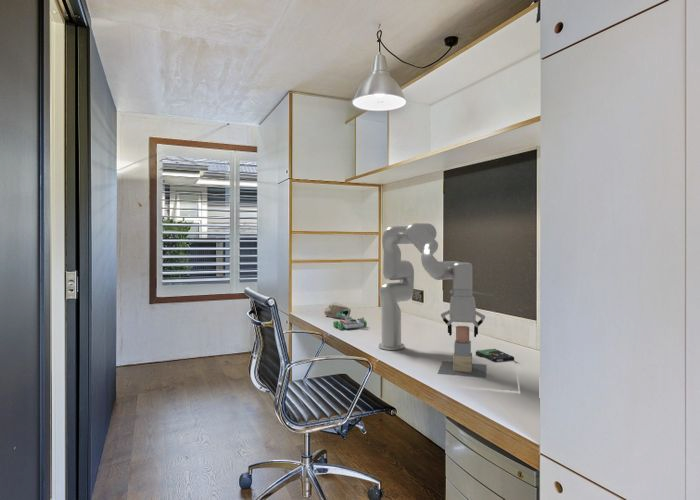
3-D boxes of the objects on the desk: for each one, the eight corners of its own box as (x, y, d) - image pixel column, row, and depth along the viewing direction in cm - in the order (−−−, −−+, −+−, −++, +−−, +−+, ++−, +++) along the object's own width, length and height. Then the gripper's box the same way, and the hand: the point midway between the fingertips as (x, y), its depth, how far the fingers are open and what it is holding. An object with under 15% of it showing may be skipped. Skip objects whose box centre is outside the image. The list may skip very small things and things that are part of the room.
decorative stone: (352, 318, 293) (352, 303, 293) (345, 320, 288) (345, 305, 287) (330, 315, 306) (330, 301, 306) (322, 316, 300) (322, 302, 300)
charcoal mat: (442, 362, 188) (442, 361, 188) (486, 366, 182) (486, 364, 182) (437, 375, 171) (437, 373, 171) (485, 380, 165) (485, 377, 165)
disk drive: (514, 363, 189) (494, 354, 203) (515, 356, 189) (494, 348, 203) (493, 365, 186) (474, 355, 201) (493, 358, 186) (474, 349, 200)
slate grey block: (455, 351, 180) (455, 339, 180) (470, 352, 178) (470, 340, 178) (454, 355, 175) (454, 343, 175) (470, 356, 173) (470, 344, 173)
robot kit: (351, 321, 284) (351, 307, 284) (369, 328, 262) (369, 312, 262) (324, 324, 276) (324, 309, 276) (341, 331, 254) (341, 315, 253)
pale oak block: (454, 365, 181) (454, 351, 181) (472, 367, 179) (472, 352, 179) (453, 370, 175) (453, 355, 174) (471, 372, 172) (471, 357, 172)
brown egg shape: (456, 339, 180) (456, 325, 180) (469, 340, 178) (469, 326, 178) (455, 342, 175) (455, 327, 175) (468, 343, 173) (468, 328, 173)
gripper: (439, 293, 175) (439, 336, 176) (485, 295, 170) (485, 339, 170) (441, 291, 182) (442, 332, 183) (485, 292, 177) (485, 335, 177)
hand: (462, 335), depth 176 cm, fingers open, 9 cm apart
